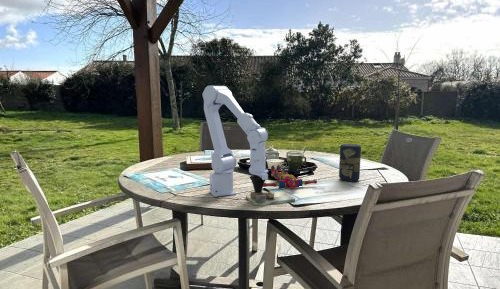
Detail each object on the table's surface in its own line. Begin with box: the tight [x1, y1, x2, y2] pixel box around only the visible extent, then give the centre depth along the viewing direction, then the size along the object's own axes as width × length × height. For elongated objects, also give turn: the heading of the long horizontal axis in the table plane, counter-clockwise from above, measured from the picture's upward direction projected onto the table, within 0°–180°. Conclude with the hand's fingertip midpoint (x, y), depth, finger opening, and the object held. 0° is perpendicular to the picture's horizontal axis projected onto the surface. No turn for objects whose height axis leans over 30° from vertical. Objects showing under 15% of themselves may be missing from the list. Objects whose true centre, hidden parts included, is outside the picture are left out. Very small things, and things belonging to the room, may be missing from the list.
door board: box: [245, 191, 296, 207], centre depth 141 cm, size 16×11×4 cm
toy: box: [263, 164, 318, 190], centre depth 166 cm, size 25×6×30 cm
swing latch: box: [250, 191, 274, 199], centre depth 139 cm, size 9×3×2 cm, turn 81°
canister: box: [338, 142, 362, 182], centre depth 171 cm, size 10×10×18 cm
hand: (258, 194), depth 141 cm, fingers closed
